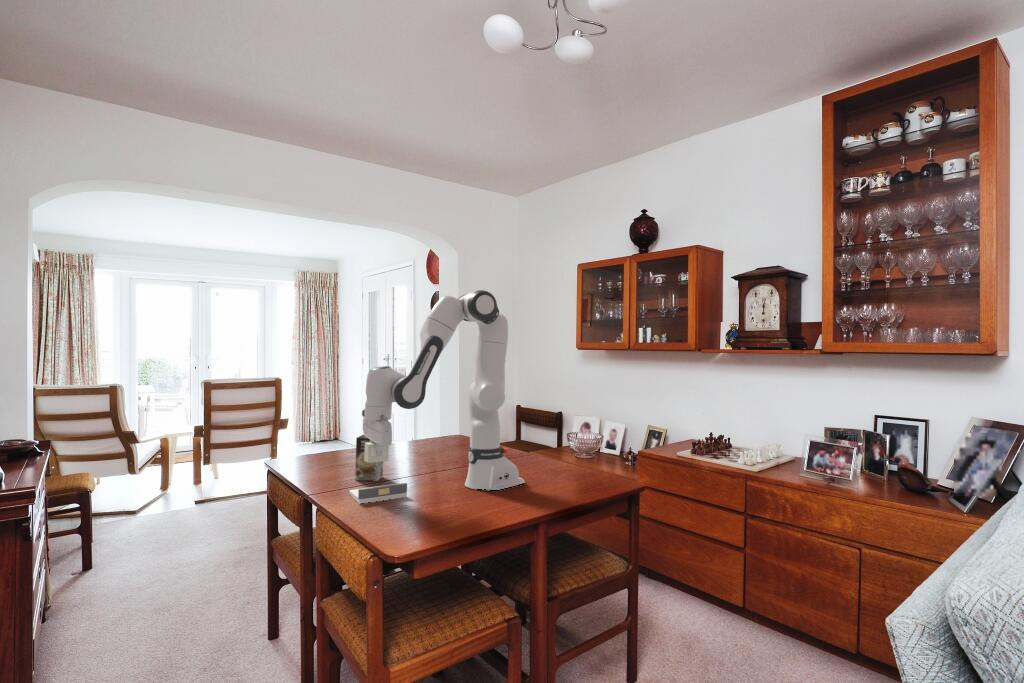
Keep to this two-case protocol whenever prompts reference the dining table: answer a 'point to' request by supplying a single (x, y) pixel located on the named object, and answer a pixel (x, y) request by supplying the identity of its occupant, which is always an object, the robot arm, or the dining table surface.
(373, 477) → the coffee box
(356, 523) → the dining table surface
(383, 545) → the dining table surface
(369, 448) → the carton
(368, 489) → the shelf board
